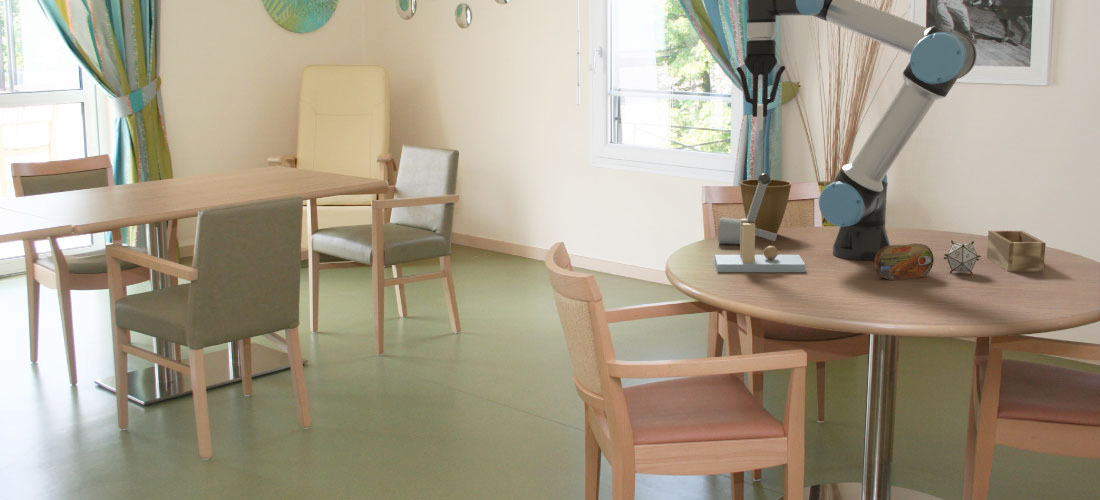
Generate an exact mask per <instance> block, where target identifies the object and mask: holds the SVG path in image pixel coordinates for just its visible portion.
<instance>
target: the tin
mask: <svg viewBox="0 0 1100 500" xmlns="http://www.w3.org/2000/svg"><path fill="white" fill-rule="evenodd" d="M934 260H935V258H934V253H933V251H932V250H931V248H930V247H929V246H928V245H926V244H924V243H923V244H922V243H906V244H895V245H893V244H892V245H891V244H890V246H885V247H883V248H881V249H880V250H879V251H878V252H877V254H876V255H875V259H874V261H873V266H874V270H875V271H876V274H877V275H878V276H880V277H881V278H883V279H886V280H890V281H897V280H906V279H907V280H908V279H919V278H923V277H925V276H927V274H929V273H930V271H931V270H932V268H933V266H934V263H935V262H934Z"/></svg>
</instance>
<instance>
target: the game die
mask: <svg viewBox="0 0 1100 500" xmlns="http://www.w3.org/2000/svg"><path fill="white" fill-rule="evenodd" d="M950 242H951V246H950V248H949V250H948V252H947V253H945V254H944V257H943V259H944V260H946V261H947V264H948V265H949V268H950V271H949V274H952V273H953V272H963V273H965V272H966V273H967V272H968V273H970V275H973V274H974V272H973V269H974V266H975V264H976V263H977V261H980V258H981V257H982V256H981V255H980V254H979V255H978V254H977V252H976V249H975V247H974V243H975V240H972V241H971V242H969V243H968V242H967V243H966V242H965V243H964V242H954V241H953V240H952V239H951V240H950Z"/></svg>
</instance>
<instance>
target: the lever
mask: <svg viewBox="0 0 1100 500" xmlns="http://www.w3.org/2000/svg"><path fill="white" fill-rule="evenodd" d="M757 179H758V185H757V188H756V191H755V194H754V197H753V200H752V203H751V207H750V210H749V213H748V216H747V219H746V218H745V219H746V222H745V223H755V220H756V217H757V214H758V211H759V208H760V205H761V202H762V199H763V196H764V193H765V190H766V187H767V185H768V184H769V183H770V181H771V180H772V179H771V176H770V175H769V174H768V173H766V172H764V173H760V174H759V176H758V177H757ZM741 230H742V232H743V225H742V227H741ZM755 235H756V236H755V237H758V236H759V238H760V237H761V238H763V239H766V240H769V241H773V242H776V240H777V237H778V233H777V234H775V233H772V232H768V231H765V230H761V229H758V228H755Z"/></svg>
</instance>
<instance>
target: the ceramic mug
mask: <svg viewBox="0 0 1100 500" xmlns="http://www.w3.org/2000/svg"><path fill="white" fill-rule="evenodd" d="M741 219H742V218H739V219H738V218H728V217H720V219H719V223H718V229H717V242H718V244H719V245H737V246H738V245H739V246H740V229H741Z"/></svg>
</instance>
